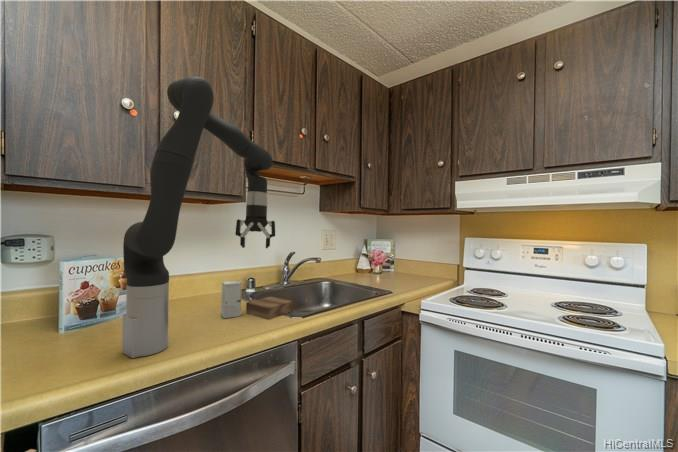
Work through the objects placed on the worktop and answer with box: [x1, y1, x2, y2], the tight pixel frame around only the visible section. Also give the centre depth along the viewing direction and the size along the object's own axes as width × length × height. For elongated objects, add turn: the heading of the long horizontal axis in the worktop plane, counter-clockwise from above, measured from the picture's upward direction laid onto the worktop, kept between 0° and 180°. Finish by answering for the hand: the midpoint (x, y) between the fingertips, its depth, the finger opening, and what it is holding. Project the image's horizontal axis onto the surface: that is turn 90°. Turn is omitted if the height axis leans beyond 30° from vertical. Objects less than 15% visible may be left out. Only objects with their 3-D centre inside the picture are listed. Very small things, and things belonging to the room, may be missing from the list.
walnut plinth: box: [245, 295, 294, 320], centre depth 109 cm, size 12×12×4 cm
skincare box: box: [220, 280, 243, 319], centre depth 104 cm, size 6×4×12 cm
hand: (255, 247), depth 108 cm, fingers open, 8 cm apart
